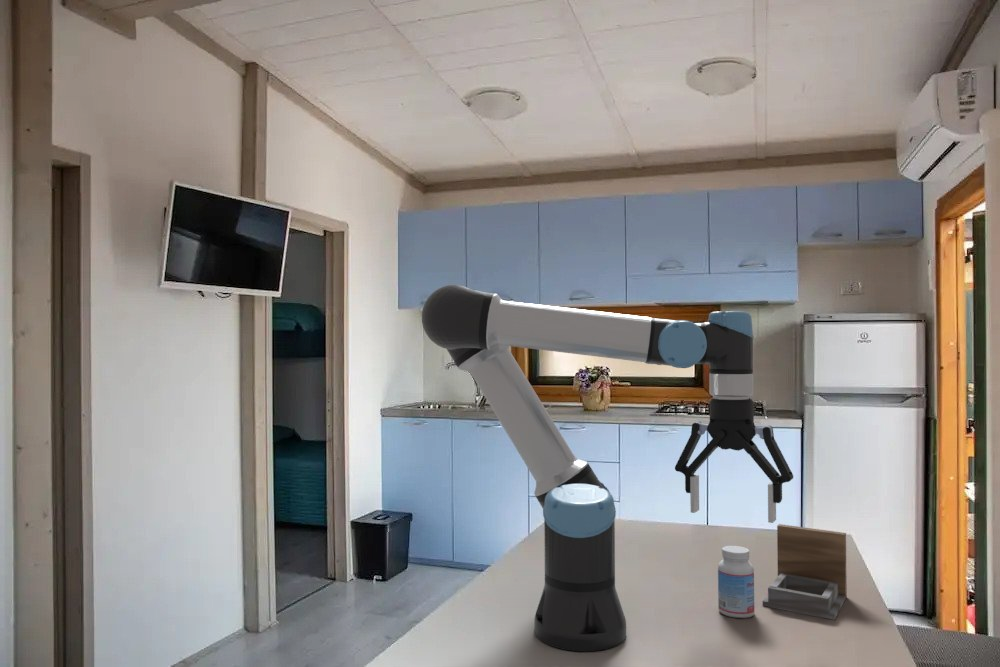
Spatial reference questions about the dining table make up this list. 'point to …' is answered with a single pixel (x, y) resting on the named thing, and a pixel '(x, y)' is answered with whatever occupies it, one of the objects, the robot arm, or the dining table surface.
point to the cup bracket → (809, 572)
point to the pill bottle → (736, 583)
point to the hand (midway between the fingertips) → (732, 516)
